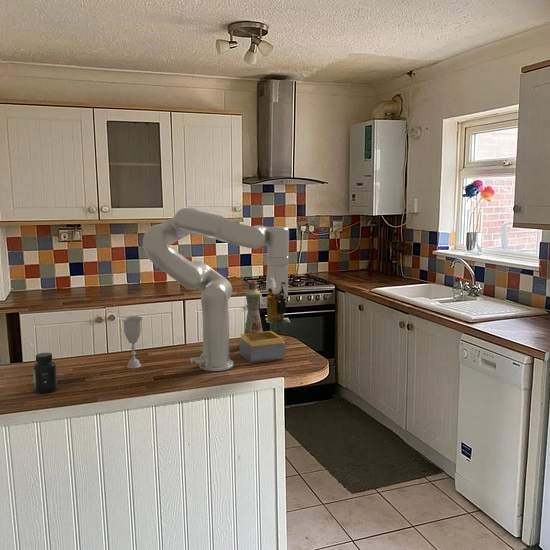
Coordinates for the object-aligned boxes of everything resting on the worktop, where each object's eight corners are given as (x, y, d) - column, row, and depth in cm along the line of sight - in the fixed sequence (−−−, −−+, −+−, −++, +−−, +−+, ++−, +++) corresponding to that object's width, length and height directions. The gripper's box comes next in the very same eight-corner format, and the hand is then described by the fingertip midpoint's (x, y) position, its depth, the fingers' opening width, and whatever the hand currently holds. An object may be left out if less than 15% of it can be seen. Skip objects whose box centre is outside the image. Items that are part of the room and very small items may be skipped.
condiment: (265, 318, 196) (265, 286, 194) (288, 318, 197) (288, 286, 195) (266, 323, 189) (267, 289, 187) (290, 323, 190) (291, 289, 188)
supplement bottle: (32, 394, 170) (29, 358, 168) (37, 387, 176) (35, 352, 174) (54, 393, 171) (52, 357, 169) (59, 386, 177) (57, 351, 176)
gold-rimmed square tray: (251, 362, 202) (250, 342, 201) (239, 353, 214) (239, 333, 212) (290, 357, 208) (290, 337, 207) (277, 348, 220) (277, 329, 219)
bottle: (253, 342, 230) (252, 277, 226) (268, 346, 224) (268, 279, 220) (238, 346, 224) (238, 280, 219) (254, 350, 218) (254, 282, 213)
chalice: (120, 367, 196) (117, 319, 193) (131, 362, 202) (129, 315, 200) (136, 370, 194) (134, 321, 191) (147, 364, 200) (146, 317, 197)
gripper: (259, 259, 197) (259, 307, 199) (277, 265, 181) (277, 317, 184) (278, 258, 199) (277, 305, 202) (298, 264, 184) (297, 315, 186)
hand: (277, 310), depth 193 cm, fingers closed on condiment, 6 cm apart
